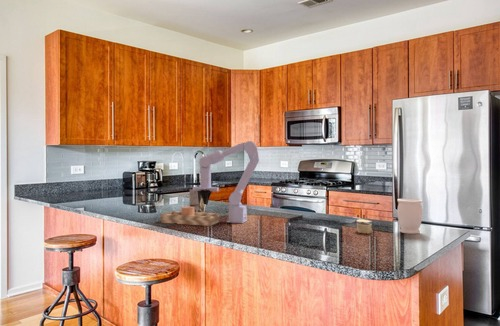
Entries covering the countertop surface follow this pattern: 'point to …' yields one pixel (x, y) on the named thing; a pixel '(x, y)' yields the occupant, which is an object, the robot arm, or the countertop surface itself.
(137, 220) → the countertop surface
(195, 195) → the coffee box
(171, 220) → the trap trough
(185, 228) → the countertop surface
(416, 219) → the jar
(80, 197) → the countertop surface
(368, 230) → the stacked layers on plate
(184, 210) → the terracotta block
